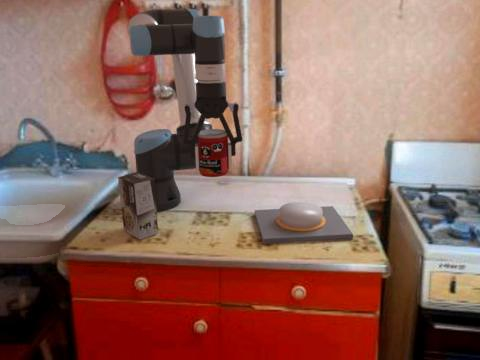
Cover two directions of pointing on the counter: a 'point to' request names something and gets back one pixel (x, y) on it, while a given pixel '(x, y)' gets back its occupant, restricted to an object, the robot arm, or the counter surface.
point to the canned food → (213, 152)
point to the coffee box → (138, 205)
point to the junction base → (292, 236)
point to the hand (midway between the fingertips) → (213, 168)
